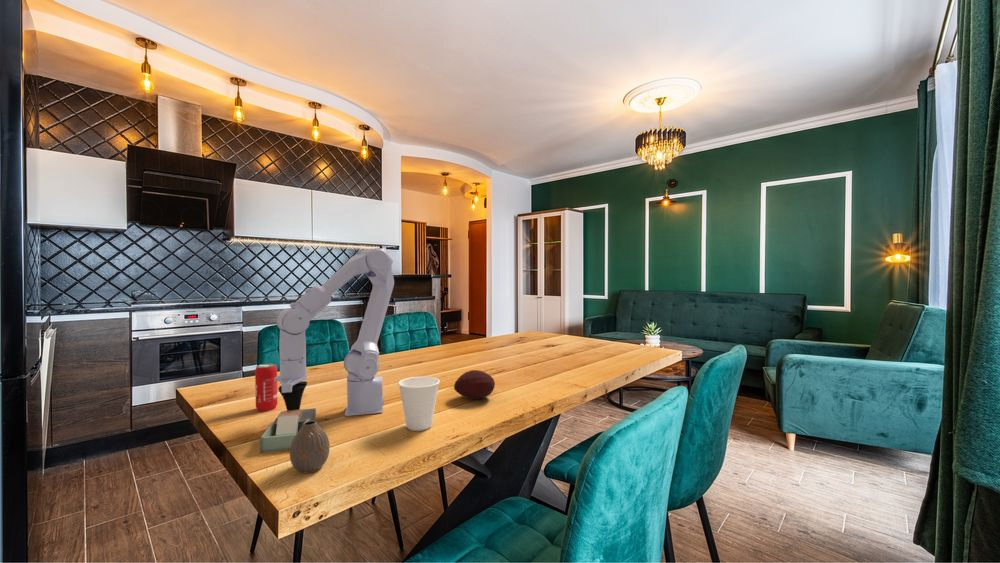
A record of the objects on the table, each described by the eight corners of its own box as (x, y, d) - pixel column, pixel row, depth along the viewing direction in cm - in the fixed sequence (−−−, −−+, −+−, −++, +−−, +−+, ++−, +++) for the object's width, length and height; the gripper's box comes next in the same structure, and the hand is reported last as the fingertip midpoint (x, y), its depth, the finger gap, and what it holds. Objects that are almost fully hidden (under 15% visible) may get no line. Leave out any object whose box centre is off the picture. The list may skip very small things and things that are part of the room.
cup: (446, 421, 100) (446, 378, 100) (427, 437, 91) (427, 389, 91) (412, 417, 104) (412, 374, 103) (389, 431, 94) (389, 385, 94)
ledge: (315, 417, 103) (315, 408, 103) (310, 431, 94) (309, 420, 94) (281, 421, 101) (281, 411, 101) (272, 435, 92) (271, 424, 92)
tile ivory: (298, 417, 93) (297, 415, 92) (297, 435, 91) (295, 433, 90) (279, 418, 92) (277, 416, 91) (277, 437, 90) (275, 435, 89)
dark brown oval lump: (502, 398, 119) (502, 370, 119) (475, 407, 111) (475, 377, 111) (475, 391, 127) (475, 364, 127) (448, 399, 118) (448, 371, 118)
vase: (281, 473, 75) (280, 426, 74) (310, 457, 81) (310, 414, 81) (309, 480, 72) (308, 431, 72) (337, 463, 79) (337, 418, 78)
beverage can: (267, 412, 107) (267, 368, 107) (251, 411, 108) (250, 367, 108) (281, 406, 112) (281, 363, 112) (265, 405, 113) (265, 362, 113)
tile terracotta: (301, 416, 97) (301, 409, 97) (298, 422, 93) (298, 414, 93) (283, 418, 96) (283, 410, 96) (279, 424, 92) (279, 416, 92)
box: (310, 431, 94) (309, 418, 94) (302, 448, 85) (302, 434, 85) (272, 435, 92) (271, 422, 92) (260, 452, 83) (260, 438, 83)
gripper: (281, 353, 103) (282, 405, 103) (266, 365, 89) (266, 426, 89) (311, 351, 105) (312, 403, 105) (301, 363, 91) (301, 423, 91)
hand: (293, 413), depth 98 cm, fingers closed
